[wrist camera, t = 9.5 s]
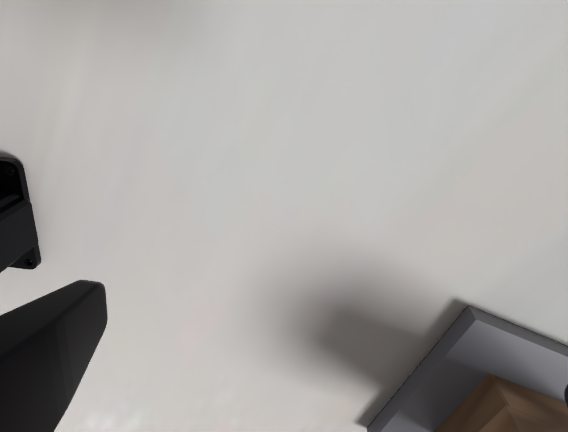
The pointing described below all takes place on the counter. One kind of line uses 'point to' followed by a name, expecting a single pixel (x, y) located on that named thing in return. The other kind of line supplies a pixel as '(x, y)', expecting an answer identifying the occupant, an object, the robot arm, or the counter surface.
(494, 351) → the flat gray plate
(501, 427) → the tan square box
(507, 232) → the counter surface
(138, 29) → the counter surface
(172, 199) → the counter surface
